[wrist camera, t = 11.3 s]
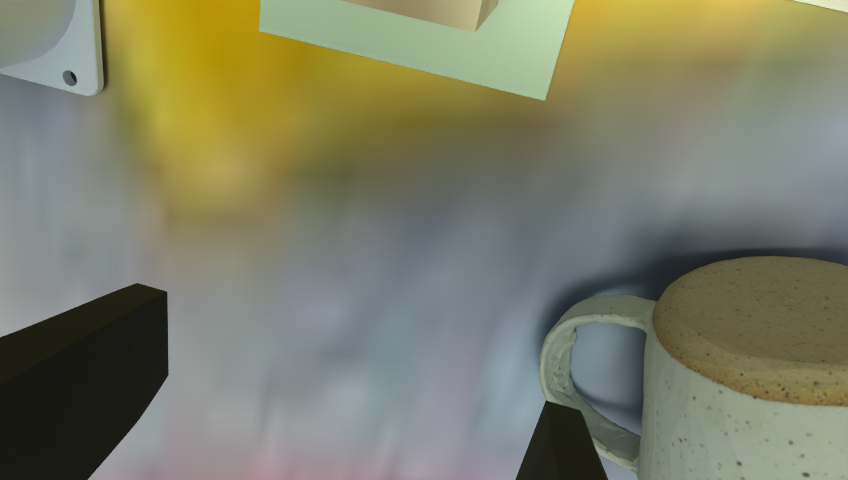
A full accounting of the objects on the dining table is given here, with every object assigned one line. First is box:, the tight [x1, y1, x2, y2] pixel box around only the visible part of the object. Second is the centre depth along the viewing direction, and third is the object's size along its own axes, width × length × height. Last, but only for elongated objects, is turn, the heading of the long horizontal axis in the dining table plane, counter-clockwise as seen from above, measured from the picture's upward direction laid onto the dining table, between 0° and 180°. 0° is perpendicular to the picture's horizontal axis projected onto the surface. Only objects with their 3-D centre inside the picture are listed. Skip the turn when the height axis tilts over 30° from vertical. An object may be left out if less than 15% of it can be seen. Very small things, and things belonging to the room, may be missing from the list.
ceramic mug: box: [539, 256, 848, 480], centre depth 18 cm, size 11×8×8 cm
